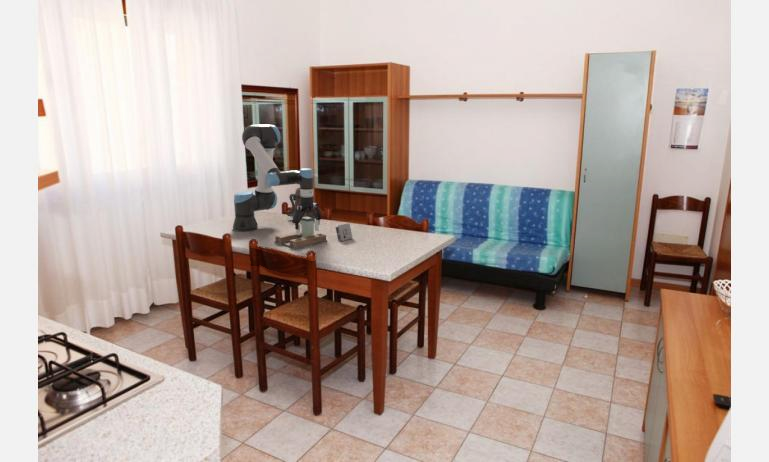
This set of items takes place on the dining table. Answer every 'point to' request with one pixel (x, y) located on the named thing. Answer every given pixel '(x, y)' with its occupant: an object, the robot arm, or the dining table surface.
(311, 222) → the fader tab
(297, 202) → the tankard
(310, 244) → the brown wooden tray
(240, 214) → the robot arm
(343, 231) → the electrical switch
